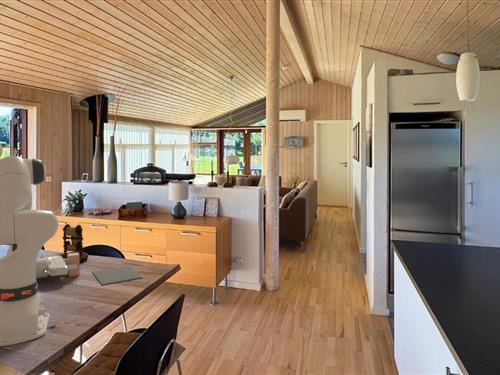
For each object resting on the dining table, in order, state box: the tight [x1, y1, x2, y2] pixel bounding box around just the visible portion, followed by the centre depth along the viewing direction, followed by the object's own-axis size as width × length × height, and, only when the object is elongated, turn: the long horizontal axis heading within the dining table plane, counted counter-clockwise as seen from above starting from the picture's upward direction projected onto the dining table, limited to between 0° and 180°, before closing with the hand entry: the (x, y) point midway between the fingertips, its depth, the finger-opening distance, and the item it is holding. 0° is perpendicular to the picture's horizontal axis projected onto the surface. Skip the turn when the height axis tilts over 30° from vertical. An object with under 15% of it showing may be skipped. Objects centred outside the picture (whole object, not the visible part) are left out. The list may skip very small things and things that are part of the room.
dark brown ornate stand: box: [59, 223, 89, 262], centre depth 192 cm, size 15×15×20 cm
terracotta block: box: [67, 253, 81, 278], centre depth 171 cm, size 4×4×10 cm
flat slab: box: [92, 265, 143, 286], centre depth 171 cm, size 20×18×1 cm
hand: (75, 263), depth 171 cm, fingers open, 8 cm apart
